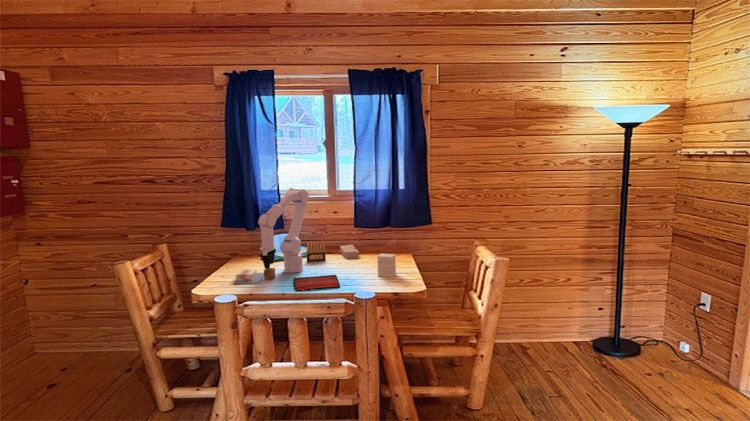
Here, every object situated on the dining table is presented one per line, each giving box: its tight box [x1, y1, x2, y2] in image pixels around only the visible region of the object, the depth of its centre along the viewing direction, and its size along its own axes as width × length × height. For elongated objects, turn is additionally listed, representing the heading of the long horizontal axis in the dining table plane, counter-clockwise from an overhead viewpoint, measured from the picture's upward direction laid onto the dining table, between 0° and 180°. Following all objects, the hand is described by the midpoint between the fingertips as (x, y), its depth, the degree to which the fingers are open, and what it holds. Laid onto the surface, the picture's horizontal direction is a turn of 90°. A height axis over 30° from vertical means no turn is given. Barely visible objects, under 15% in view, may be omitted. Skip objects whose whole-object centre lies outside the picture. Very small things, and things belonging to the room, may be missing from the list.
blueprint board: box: [232, 269, 264, 285], centre depth 207 cm, size 12×16×4 cm
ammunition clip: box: [306, 240, 327, 263], centre depth 238 cm, size 11×2×12 cm, turn 105°
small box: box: [377, 253, 397, 278], centre depth 210 cm, size 8×6×10 cm
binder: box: [293, 274, 341, 292], centre depth 198 cm, size 16×2×21 cm
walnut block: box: [263, 267, 276, 281], centre depth 207 cm, size 4×4×5 cm
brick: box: [339, 244, 360, 260], centre depth 251 cm, size 17×8×5 cm, turn 17°
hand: (269, 265), depth 207 cm, fingers open, 7 cm apart
